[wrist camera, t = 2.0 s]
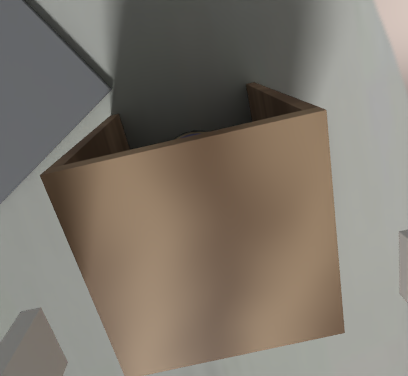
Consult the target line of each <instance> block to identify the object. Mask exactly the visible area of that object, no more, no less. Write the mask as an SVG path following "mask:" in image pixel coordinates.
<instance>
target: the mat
mask: <svg viewBox="0 0 408 376" xmlns="http://www.w3.org/2000/svg"><path fill="white" fill-rule="evenodd" d="M111 90H112V89H111V87H110V86H109V85H108V84H107V83H106V82H105V81H104V80H103V79H102V78H101V77H100V76H99V75H98V74H97V73H96V72H95V71H94V70H93V69H92V68H91V67H90V66H89V65H88V64H87V63H86V62H85V61H84V60H83V59H82V58H81V57H80V56H79V55H78V54H77V53H76V52H75V51H74V50H73V49H72V48H71V47H70V46H69V45H68V44H67V43H66V42H65V41H64V40H63V39H62V38H61V37H60V36H59V35H58V34H57V33H56V32H55V31H54V30H53V29H52V28H51V27H50V26H49V25H48V24H47V23H46V22H45V21H44V20H43V19H42V18H41V17H40V16H39V15H38V14H37V13H36V12H35V11H34V10H33V9H32V8H31V7H30V6H29V5H28V4H27V3H26V2H25V0H0V204H1V203H2V202H3V201H4V200H5V199H6V198H7V197H8V195H9V194H10V193H11V192H12V191H13V190H14V189H15V188H16V187H17V186H18V185H19V184H20V183H21V182H22V181H23V180H24V179H25V178H26V177H27V176H28V175H29V174H30V173H31V172H32V171H33V170H34V169H35V168H36V167H37V166H38V165H39V164H40V163H41V162H42V161H43V159H44V158H45V157H46V156H47V155H48V154H49V153H50V152H51V151H52V150H53V149H54V148H55V147H56V146H57V145H58V144H59V143H60V142H61V141H62V140H63V139H64V138H65V137H66V136H67V135H68V134H69V133H70V132H71V131H72V130H73V129H74V128H75V127H76V126H77V125H78V124H79V122H80V121H81V120H82V119H83V118H84V117H85V116H86V115H87V114H88V113H89V112H90V111H91V110H92V109H93V108H94V107H95V106H96V105H97V104H98V103H99V102H100V101H101V100H102V99H103V98H104V97H105V96H106V95H107V94H108V93H109V92H110V91H111Z"/></svg>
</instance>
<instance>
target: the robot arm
mask: <svg viewBox="0 0 408 376" xmlns="http://www.w3.org/2000/svg"><path fill="white" fill-rule="evenodd" d="M399 283H400V295H401V296H402V297H403V298H404V299H405V301H406V302H407V303H408V230H404V231H399ZM67 363H68V362H67V360H66V358H65V356H64V354H63V351H62V349H61V347H60V345H59V343H58V341H57V339H56V337H55V335H54V333H53V331H52V329H51V327H50V325H49V323H48V321H47V319H46V317H45V315H44V313H43V311H42V309H41V308H36V309H31V310H26V311H22V312H20V314H19V315H18V317H17V318H16V320H15V321H14V323H13V324H12V326H11V327H10V329H9V330H8V332H7V333H6V335H5V337H4V338H3V340H2V341H1V343H0V376H63V373H64V371H65V368H66V366H67Z"/></svg>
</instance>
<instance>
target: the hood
mask: <svg viewBox="0 0 408 376" xmlns="http://www.w3.org/2000/svg"><path fill="white" fill-rule="evenodd" d="M246 87H247V93H248V99H249V105H250V111H251V117H252V122H249V123H245V124H241V125H236V126H232V127H228V128H223V129H219V130H214V131H210V132H206V133H201V134H197V135H193V136H188V137H184V138H180V139H175V140H171V141H166V142H162V143H158V144H153V145H149V146H145V147H140V148H136V149H131V150H130V149H129V145H128V142H127V139H126V136H125V132H124V129H123V126H122V123H121V119H120V116H119V114H115V115H111V116H110V117H108V118H107V119H106V120H105V121H104V122H102V123H101V124H100V125H99V126H98V127H97V128H95V129H94V130H93V131H92V132H91V133H89V134H88V135H87V136H86V137H85V138H84V139H82V140H81V141H80V142H79V143H78V144H76V145H75V146H74V147H73V148H72V149H70V150H69V151H68V152H67V153H66V154H65V155H63V156H62V157H61V158H60V159H59V160H57V161H56V162H55V163H54V164H53V165H52V166H50V167H49V168H48V169H47V170H46V171H44V172H43V173H42V174H41V175H40V177H41V179H42V182H43V184H44V186H45V189H46V191H47V194H48V196H49V198H50V201H51V203H52V205H53V208H54V210H55V212H56V215H57V217H58V220H59V222H60V224H61V227H62V229H63V231H64V234H65V236H66V238H67V241H68V243H69V245H70V248H71V250H72V253H73V255H74V257H75V260H76V262H77V264H78V267H79V269H80V271H81V274H82V276H83V279H84V281H85V283H86V286H87V288H88V290H89V293H90V295H91V297H92V300H93V302H94V304H95V307H96V309H97V312H98V314H99V316H100V319H101V321H102V323H103V326H104V328H105V330H106V333H107V335H108V337H109V340H110V342H111V345H112V347H113V349H114V352H115V354H116V356H117V359H118V361H119V363H120V366H121V368H122V371H123V373H124V375H125V376H143V375H148V374H153V373H158V372H162V371H167V370H172V369H177V368H181V367H186V366H191V365H195V364H200V363H205V362H210V361H214V360H219V359H224V358H228V357H233V356H238V355H243V354H247V353H252V352H257V351H261V350H266V349H271V348H276V347H280V346H285V345H290V344H294V343H299V342H304V341H309V340H313V339H318V338H323V337H327V336H332V335H337V334H342V333H345V331H344V319H343V307H342V295H341V283H340V270H339V258H338V246H337V234H336V222H335V209H334V197H333V185H332V173H331V161H330V148H329V136H328V124H327V112H326V110H325V109H323V108H320V107H317V106H315V105H312V104H310V103H307V102H304V101H302V100H299V99H297V98H294V97H291V96H289V95H286V94H283V93H281V92H278V91H276V90H273V89H270V88H268V87H265V86H263V85H260V84H257V83H255V82H253V83H249V84H246Z"/></svg>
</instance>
